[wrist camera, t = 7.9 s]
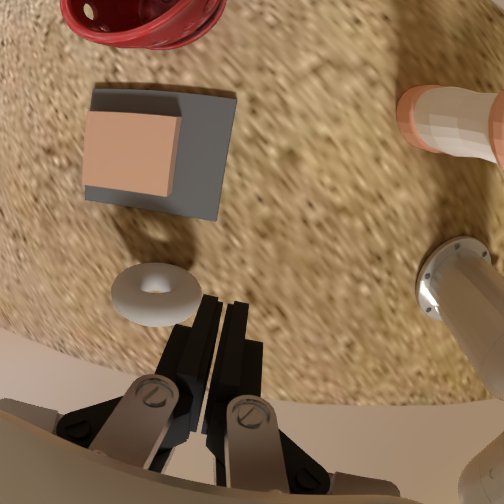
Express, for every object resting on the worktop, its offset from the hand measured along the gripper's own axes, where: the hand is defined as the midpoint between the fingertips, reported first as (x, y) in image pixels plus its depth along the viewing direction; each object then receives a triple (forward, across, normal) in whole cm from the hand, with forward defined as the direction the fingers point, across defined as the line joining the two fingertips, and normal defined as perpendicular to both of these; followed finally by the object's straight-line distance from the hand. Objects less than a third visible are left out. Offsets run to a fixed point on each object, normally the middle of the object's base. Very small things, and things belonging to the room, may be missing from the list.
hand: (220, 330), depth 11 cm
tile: (+21, +8, -2) cm, 23 cm away
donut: (+24, +8, +12) cm, 28 cm away
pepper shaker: (+24, -16, -13) cm, 32 cm away
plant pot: (+23, +13, -18) cm, 32 cm away
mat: (+23, +11, -2) cm, 26 cm away
